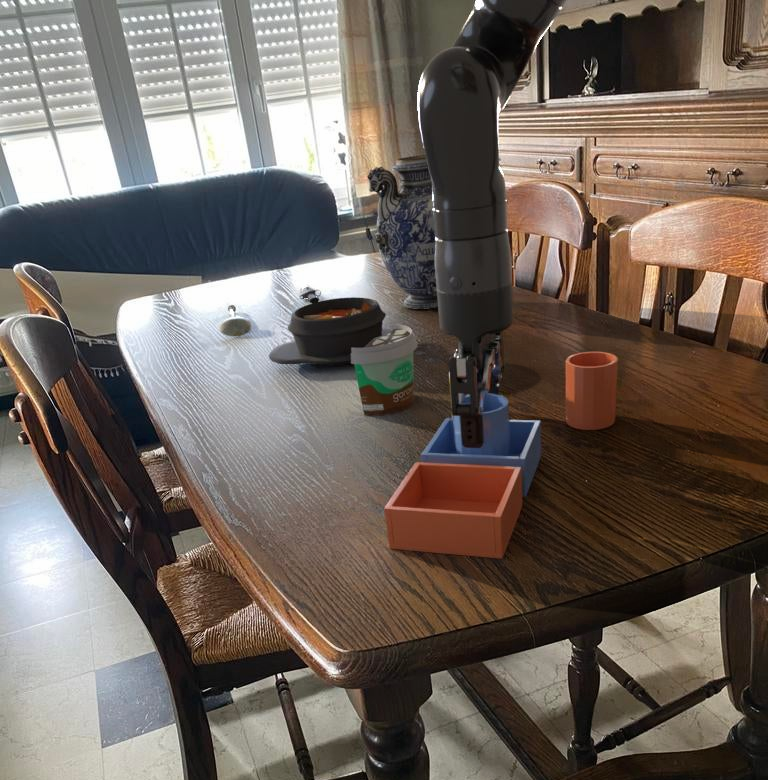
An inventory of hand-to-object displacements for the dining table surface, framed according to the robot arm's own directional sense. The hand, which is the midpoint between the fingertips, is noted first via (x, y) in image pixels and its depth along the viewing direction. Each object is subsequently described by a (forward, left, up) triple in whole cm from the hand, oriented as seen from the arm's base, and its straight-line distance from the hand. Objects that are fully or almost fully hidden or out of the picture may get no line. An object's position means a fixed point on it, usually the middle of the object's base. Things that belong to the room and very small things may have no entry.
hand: (482, 430), depth 82 cm
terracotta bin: (0, +12, -5) cm, 13 cm away
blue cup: (0, 0, -5) cm, 5 cm away
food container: (+17, -20, -6) cm, 27 cm away
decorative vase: (+29, -76, -6) cm, 82 cm away
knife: (+62, -87, -6) cm, 107 cm away
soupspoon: (+69, -64, -6) cm, 94 cm away
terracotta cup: (-10, -16, -5) cm, 20 cm away
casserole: (+35, -42, -6) cm, 55 cm away
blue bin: (0, 0, -5) cm, 5 cm away
